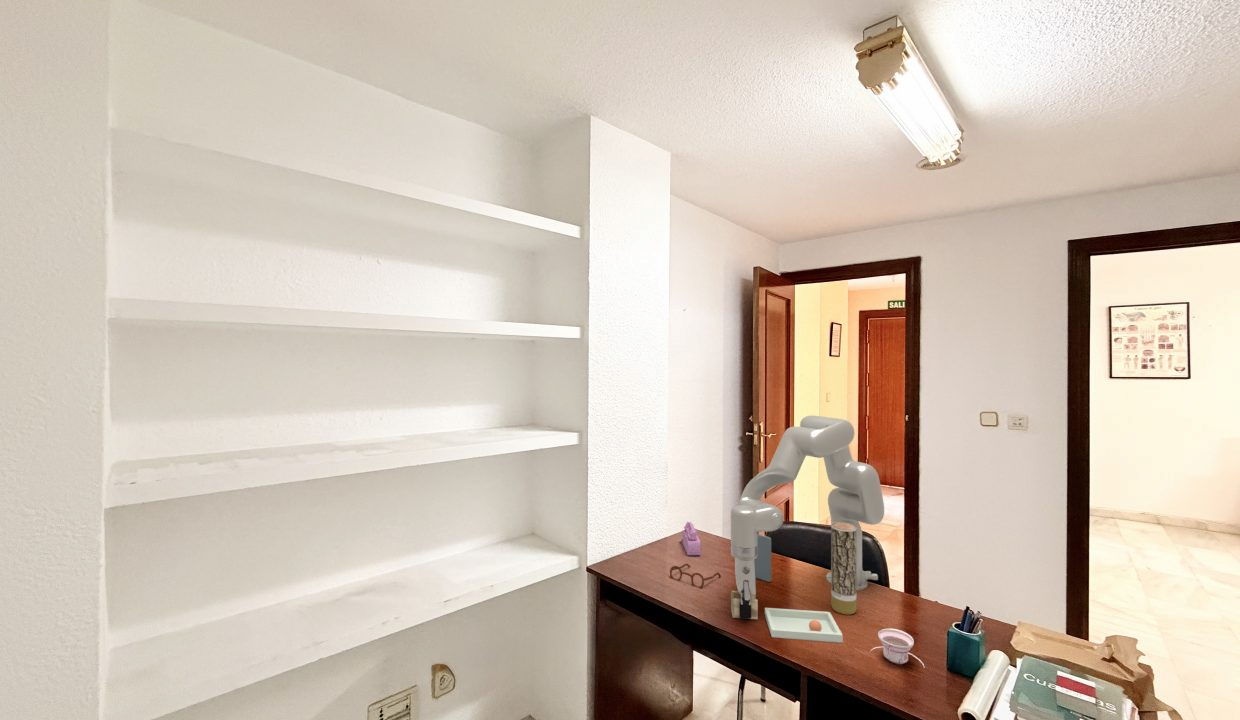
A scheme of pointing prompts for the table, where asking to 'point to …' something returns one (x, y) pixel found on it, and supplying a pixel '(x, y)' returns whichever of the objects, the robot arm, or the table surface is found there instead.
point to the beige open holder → (736, 600)
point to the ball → (815, 625)
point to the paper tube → (843, 568)
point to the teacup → (896, 645)
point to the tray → (802, 625)
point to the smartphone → (763, 558)
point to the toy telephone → (691, 540)
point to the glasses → (691, 575)
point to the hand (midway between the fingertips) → (744, 611)
